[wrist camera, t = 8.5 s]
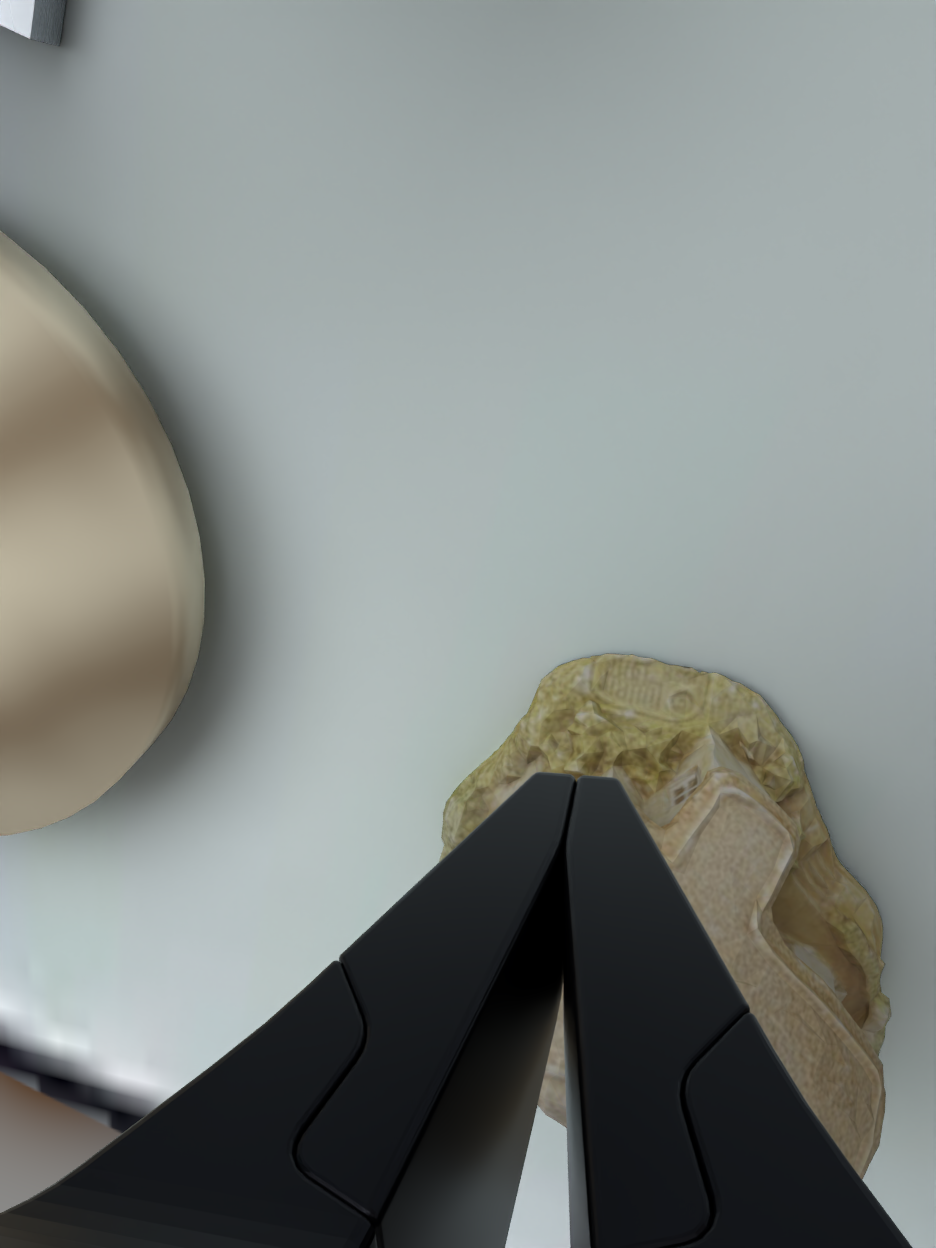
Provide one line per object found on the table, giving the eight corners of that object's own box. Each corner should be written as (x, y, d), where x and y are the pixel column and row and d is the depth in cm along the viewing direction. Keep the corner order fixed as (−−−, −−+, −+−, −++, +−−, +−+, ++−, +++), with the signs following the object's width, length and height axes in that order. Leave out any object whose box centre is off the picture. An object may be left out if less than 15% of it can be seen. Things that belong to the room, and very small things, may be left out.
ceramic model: (368, 803, 27) (219, 1105, 18) (663, 582, 22) (661, 848, 13) (671, 1085, 29) (673, 1472, 20) (995, 945, 24) (1183, 1372, 16)
